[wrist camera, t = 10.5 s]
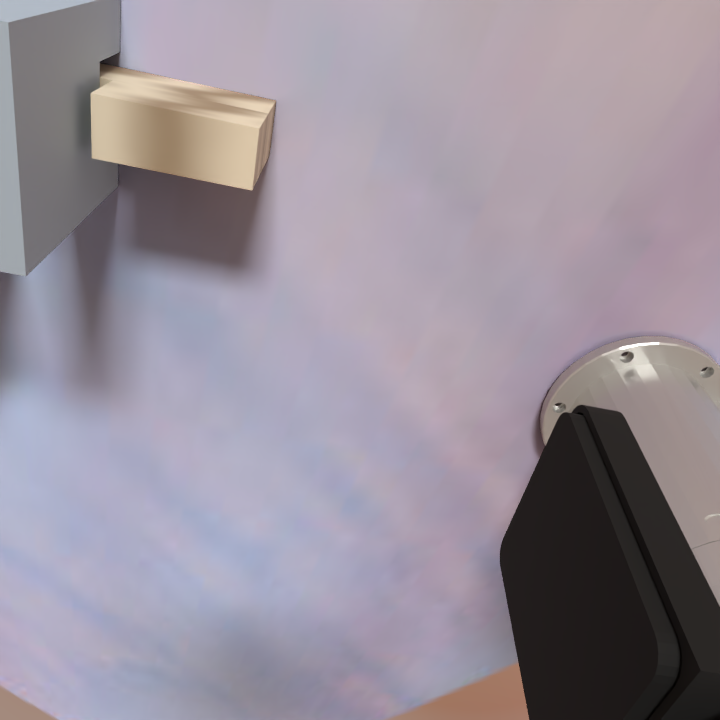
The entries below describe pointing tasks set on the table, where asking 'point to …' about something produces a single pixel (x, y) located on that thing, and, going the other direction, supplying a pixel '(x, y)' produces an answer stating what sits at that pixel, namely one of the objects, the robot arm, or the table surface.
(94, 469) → the table surface
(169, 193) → the table surface
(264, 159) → the rail
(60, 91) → the flat gray plate
